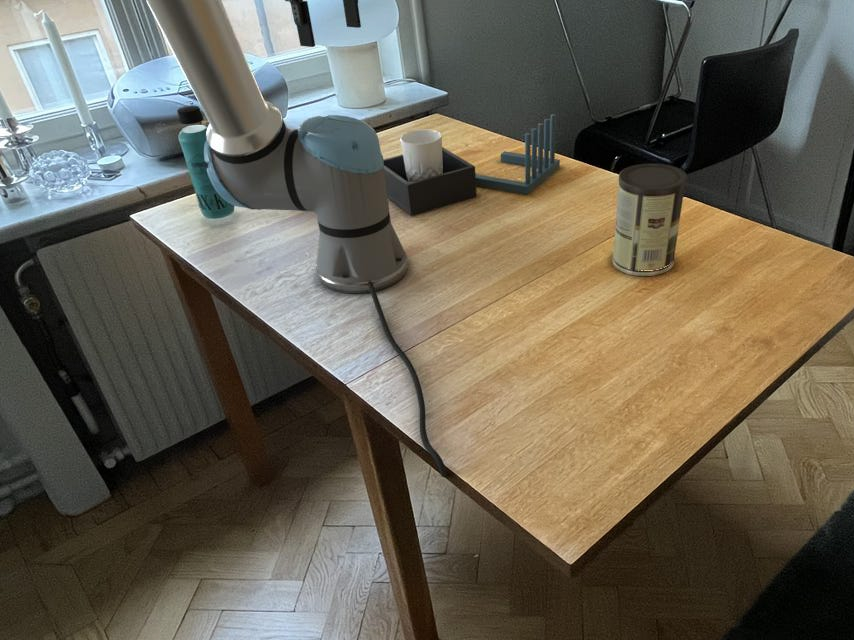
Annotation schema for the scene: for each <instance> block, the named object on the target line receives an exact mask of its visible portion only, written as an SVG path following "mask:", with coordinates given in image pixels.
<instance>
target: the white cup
mask: <svg viewBox="0 0 854 640" xmlns="http://www.w3.org/2000/svg"><path fill="white" fill-rule="evenodd" d="M399 139H400V146H401V151H402V154H403V158H404V164H405V170H406V176H407V178H408V182H409V183H412V182H415V181H419V180H422V179H426V178H429V177H433V176H437V175H440V174H443V156H442V147H443V134H442V133H441V132H440V131H438V130H436V129H435V130H434V129H424V128H423V129H422V128H421V129H415V130H411V131H407V132H404V133H403V134H401V136H400V138H399Z"/></svg>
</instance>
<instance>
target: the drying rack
mask: <svg viewBox="0 0 854 640" xmlns="http://www.w3.org/2000/svg"><path fill="white" fill-rule="evenodd" d="M543 121H544V123H541V122H540V123H538V126H537V127H534V128H531V133H530V132H526V133H525V134H524V142H525V144H524V146H525V147H524V149H525V150H524V151H525V152H524V153H518V152H512V151H506V150H505V151H503V152H502V153H500V162H501V163H507V164H514V165H517V166H524V169H525V171H524V172H525V173H524V174H525V175H524V177H525V178H524V179H525V180H524V181H520V180H513V179H507V178H501V177H496V176H490V175H485V174H479V173H475V176H476V187H481V188H486V189H493V190H497V191H503V192H510V193H515V194H520V195H525V196H528V195H529V194H531V193H532V192H533V191H534V190H535V189H536V188H538V187H539V186H540V185H541V184H542V183H544V182H545V181H546V180H547V179H548V178H549V177H551V175H553V174H554V173H555V172H557V170H559V169H560V166H561V165H560V163H561V159H557V158H555V157H556V156H555V155H556V121H557V120H556V114H555V113H552V114H550V118H544V120H543Z"/></svg>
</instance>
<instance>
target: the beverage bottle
mask: <svg viewBox="0 0 854 640" xmlns="http://www.w3.org/2000/svg"><path fill="white" fill-rule="evenodd" d="M176 112H177V116H178V121H179V123H180V124H182V125H187V126H186V127H184V128H182V129H181V131H180V132H179V134H178V136H177V137H178V138H177V139H178V141H179V144H180V147H181V151H182V153H183V156H184V159H185V164H186V168H187V171H188V173H189V178H190V181H191V186H192V187H193V189H194V191H193V192H194V194H195V197H196V202H197V204H198V208H199V211H200V213H201V214H202V216H203V217H204V218H205V219H210V220H216V219H222V218H223V219H224V218H227V217H228V216H230V215H232V214H233V213H234V212H235V207H236V206H234V205H232V204H230V203H228V202H227V201H225V200H224V199H223V198H222V197H221V196H220V195H219V194H218V193H217V191H216V190H215V188H214V186H213V185H212V183H211V181H210V178H209V176H208V173H207V168H208V164H207V163H206V162H205V158H204V148H205V142H206V140H207V136H206V134H207V129H208V126H206V125H204V124H199V123H201V122H202V121H204V119H205V118H204V116H203V113H202V109H201V108H200V106H198V105H196V104H195V105H193V104H192V105H184V106H181V107H179V108H177V111H176ZM197 123H198V124H197Z"/></svg>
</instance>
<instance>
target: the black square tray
mask: <svg viewBox="0 0 854 640" xmlns="http://www.w3.org/2000/svg"><path fill="white" fill-rule="evenodd" d="M442 156H443V174H440V175H437V176H433V177H429V178H426V179H422V180H419V181H415V182H412V183H409V182H408V178H407V176H406V170H405V164H404V158H403V153H402V154H398V155H394V156H391V157H386V158H383V159H384V165H383V166H384V174H385V182H386V189H387V197H388V200H389V201H391V202H392V203H393V204H394V205H396V206H397V207H398V208H400V209H401V210H403V212H405V213H407V214H408V215H409V216H410V217H413V216H416V215H420V214H422V213H426V212H430V211H432V210H436V209H439V208H443V207H447V206H450V205H454V204H457V203H461V202H463V201H467V200H470V199H473V198H477V186H476V176H475V174H476V166H475V165H474V164H472V163H470V162H469V161H467V160H465V159H464V158H462V157H460V156H459V155H457V154H455V153H454V152H451V151H450V150H449V149H447V148H445V147H443V146H442Z"/></svg>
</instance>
